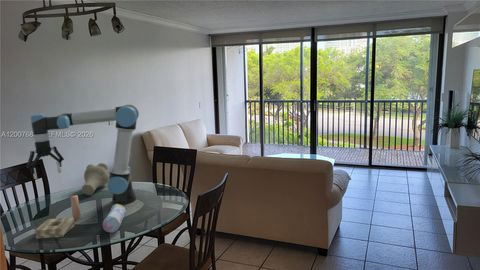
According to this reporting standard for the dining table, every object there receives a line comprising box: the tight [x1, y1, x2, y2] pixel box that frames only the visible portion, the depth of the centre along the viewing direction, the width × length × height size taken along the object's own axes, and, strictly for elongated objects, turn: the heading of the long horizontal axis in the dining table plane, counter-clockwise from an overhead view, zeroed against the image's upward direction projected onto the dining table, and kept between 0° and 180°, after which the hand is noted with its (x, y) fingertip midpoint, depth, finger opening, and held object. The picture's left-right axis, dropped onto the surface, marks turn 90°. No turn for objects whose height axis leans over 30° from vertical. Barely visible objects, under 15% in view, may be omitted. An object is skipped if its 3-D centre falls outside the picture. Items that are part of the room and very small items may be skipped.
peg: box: [70, 195, 82, 222], centre depth 199 cm, size 4×4×14 cm
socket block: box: [34, 217, 76, 239], centre depth 185 cm, size 14×14×4 cm
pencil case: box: [102, 204, 127, 234], centre depth 189 cm, size 21×9×10 cm, turn 9°
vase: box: [81, 162, 110, 196], centre depth 248 cm, size 22×22×28 cm
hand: (47, 175), depth 204 cm, fingers open, 13 cm apart
